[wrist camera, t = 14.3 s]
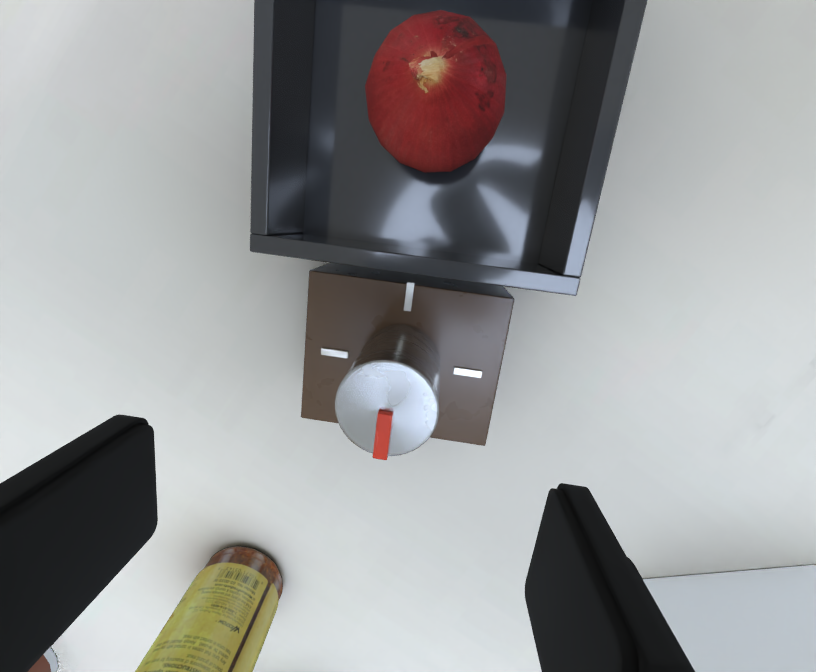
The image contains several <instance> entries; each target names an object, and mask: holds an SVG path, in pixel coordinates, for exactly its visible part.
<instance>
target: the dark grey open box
mask: <svg viewBox="0 0 816 672" xmlns="http://www.w3.org/2000/svg"><path fill="white" fill-rule="evenodd" d="M646 4H647V0H255V3H254V61H253V118H252V176H251V233H252V234H251V235H250V251H251V252H256V253H264V254H271V255H278V256H286V257H293V258H301V259H308V260H315V261H323V262H330V263H337V264H345V265H352V266H359V267H367V268H374V269H382V270H389V271H396V272H404V273H411V274H418V275H426V276H433V277H440V278H448V279H455V280H462V281H470V282H477V283H485V284H492V285H499V286H507V287H514V288H521V289H529V290H536V291H543V292H551V293H558V294H565V295H573V296H576V295H577V291H578V287H579V283H580V278H579V277H581V274H582V270H583V266H584V262H585V257H586V253H587V249H588V245H589V241H590V237H591V233H592V228H593V224H594V220H595V216H596V212H597V208H598V203H599V199H600V195H601V191H602V187H603V183H604V179H605V174H606V170H607V166H608V162H609V158H610V154H611V149H612V145H613V141H614V137H615V133H616V129H617V125H618V120H619V116H620V112H621V108H622V104H623V100H624V95H625V91H626V87H627V83H628V79H629V75H630V71H631V66H632V62H633V58H634V54H635V50H636V46H637V41H638V37H639V33H640V29H641V25H642V21H643V17H644V12H645V8H646ZM438 10H443V11H447V12H452V13H456V14H460V15H464V16H468V17H471V18H472V19H473V20H474V21H475V22H476V23H477V24H478V25H479V26H480V27H481V28H482V29H483V31H484V32H485V33H486V34H487V35H488V36H489V37H490V38H491V39H492V40H493V41H494V42H495V43H496V45H497V48H498V51H499V54H500V57H501V60H502V63H503V66H504V69H505V72H506V93H505V109H504V114H503V116H502V118H501V121H500V123H499V125H498V127H497V130H496V132H495V134H494V136H493V138H492V140H491V141H490V142H489V143H488V144H487V145H486V146H485V148H484V149H483V150H482V151H481V152H480V153H479V155H478V156H477V157H476V158H475V159H474V160H472V161H470V162H468V163H466V164H464V165H462V166H460V167H458V168H457V169H455V170H453V171H451V172H426V173H424V172H422V171H419V170H417V169H414V168H412V167H409V166H407V165H404V164H402V163H400V162H399V161H398V160H397V159H395V158H394V157H393V156H392V155H391V154H390V153H389V152H388V151H387V150H386V149H385V148H384V147H383V146H382V145H381V144H380V142H379V140H378V138H377V136H376V134H375V132H374V130H373V128H372V126H371V124H370V121H369V117H368V108H367V100H366V91H365V84H366V81H367V78H368V75H369V72H370V69H371V65H372V62H373V59H374V56H375V54H376V52H377V51H378V49H379V48H380V46H381V45H382V43H383V41H384V40H385V38H386V37H387V35H388V34H389V32H390V31H391V30H392V29H394V28H395V27H397V26H398V25H400V24H401V23H403V22H404V21H405V20H407V19H408V18H410V17H411V16H413V15H417V14H422V13H427V12H433V11H438Z"/></svg>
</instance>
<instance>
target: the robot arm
mask: <svg viewBox="0 0 816 672" xmlns="http://www.w3.org/2000/svg"><path fill="white" fill-rule="evenodd" d="M157 520H158V518H157V495H156V472H155V448H154V431H153V428H152V427H151V426H149V425H148V422H147V420H146V419H144V418H139V417H133V416H126V415H116V416H113V417H112V418H110V419H108V420H107V421H105V422H103V423H102V424H100V425H98V426H97V427H95V428H93V429H92V430H90V431H88V432H86V433H85V434H83V435H81V436H80V437H78V438H76V439H75V440H73V441H71V442H70V443H68V444H66V445H65V446H63V447H61V448H59V449H58V450H56V451H54V452H53V453H51V454H49V455H48V456H46V457H44V458H43V459H41V460H39V461H38V462H36V463H34V464H32V465H31V466H29V467H27V468H26V469H24V470H22V471H21V472H19V473H17V474H16V475H14V476H12V477H11V478H9V479H7V480H6V481H4V482H2V483H0V672H28V671H29V669H30V668H31V667H32V666H33V665H34V664H35V663H36V662H37V661H38V660H39V659H40V658H41V656H42V655H43V654H44V653H45V652H46V651H47V650H48V649H49V648H50V647H51V646H52V644H53V643H54V642H55V641H56V640H57V639H58V638H59V637H60V636H61V635H62V634H63V633H64V631H65V630H66V629H67V628H68V627H69V626H70V625H71V624H72V623H73V622H74V621H75V619H76V618H77V617H78V616H79V615H80V614H81V613H82V612H83V611H84V610H85V609H86V607H87V606H88V605H89V604H90V603H91V602H92V601H93V600H94V599H95V598H96V597H97V596H98V594H99V593H100V592H101V591H102V590H103V589H104V588H105V587H106V586H107V585H108V584H109V582H110V581H111V580H112V579H113V578H114V577H115V576H116V575H117V574H118V573H119V572H120V570H121V569H122V568H123V567H124V566H125V565H126V564H127V563H128V562H129V561H130V560H131V559H132V557H133V556H134V555H135V554H136V553H137V552H138V551H139V550H140V549H141V548H142V547H143V545H144V544H145V543H146V542H147V541H148V540H149V539H150V538H151V536H152V535H153V533H154V531H155V529H156V526H157ZM525 599H526V604H527V608H528V613H529V617H530V621H531V626H532V630H533V635H534V639H535V643H536V648H537V652H538V657H539V661H540V665H541V670H542V672H695V670H694V669H693V667H692V665H691V663H690V662H689V660H688V658H687V656H686V655H685V653H684V651H683V649H682V648H681V646H680V644H679V642H678V641H677V639H676V637H675V635H674V634H673V632H672V630H671V628H670V627H669V625H668V623H667V621H666V619H665V618H664V616H663V614H662V612H661V611H660V609H659V607H658V605H657V604H656V602H655V600H654V598H653V597H652V595H651V593H650V591H649V590H648V588H647V586H646V584H645V583H644V581H643V579H642V577H641V576H640V574H639V572H638V570H637V568H636V567H635V565H634V564H633V562H632V561H631V560H630V559H629V558H628V557H626V555H625V553H624V551H623V550H622V548H621V546H620V544H619V542H618V541H617V539H616V537H615V535H614V533H613V532H612V530H611V528H610V526H609V524H608V523H607V521H606V519H605V517H604V516H603V514H602V512H601V510H600V508H599V507H598V505H597V503H596V501H595V499H594V498H593V496H592V494H591V492H590V491H589V489H588V488H586V487H582V486H576V485H569V484H563V483H561V484H559V486H558V487H557V489H550V491H549V493H548V497H547V501H546V505H545V509H544V512H543V516H542V520H541V524H540V528H539V532H538V536H537V540H536V543H535V547H534V551H533V555H532V559H531V563H530V567H529V571H528V575H527V578H526V583H525Z"/></svg>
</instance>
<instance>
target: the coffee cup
mask: <svg viewBox="0 0 816 672" xmlns="http://www.w3.org/2000/svg"><path fill="white" fill-rule="evenodd" d="M57 670H58V662H57V657H56V655H55V654H54V652H53V651H52V649H51V647H50V648H49V649H48V650H47V651H46V652H45V653H44V654H43V655H42V656H41V658H40V659H39V660H38V661H37V662H36V663H35V664H34V665H33V666H32V667H31V668H30V669H29V671H28V672H57Z"/></svg>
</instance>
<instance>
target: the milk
mask: <svg viewBox="0 0 816 672" xmlns="http://www.w3.org/2000/svg"><path fill="white" fill-rule="evenodd" d="M643 581H644V583H645V584H646V586H647V588H648V590H649V591H650V593H651V595H652V597H653V598H654V600H655V602H656V604H657V605H658V607H659V609H660V611H661V612H662V614H663V616H664V618H665V619H666V621H667V623H668V625H669V627H670V628H671V630H672V632H673V634H674V635H675V637H676V639H677V641H678V642H679V644H680V646H681V648H682V649H683V651H684V653H685V655H686V656H687V658H688V660H689V662H690V663H691V665H692V667H693V669H694V670H695V672H816V565H806V566H794V567H782V568H771V569H759V570H747V571H735V572H723V573H711V574H699V575H687V576H675V577H663V578H651V579H643Z"/></svg>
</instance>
